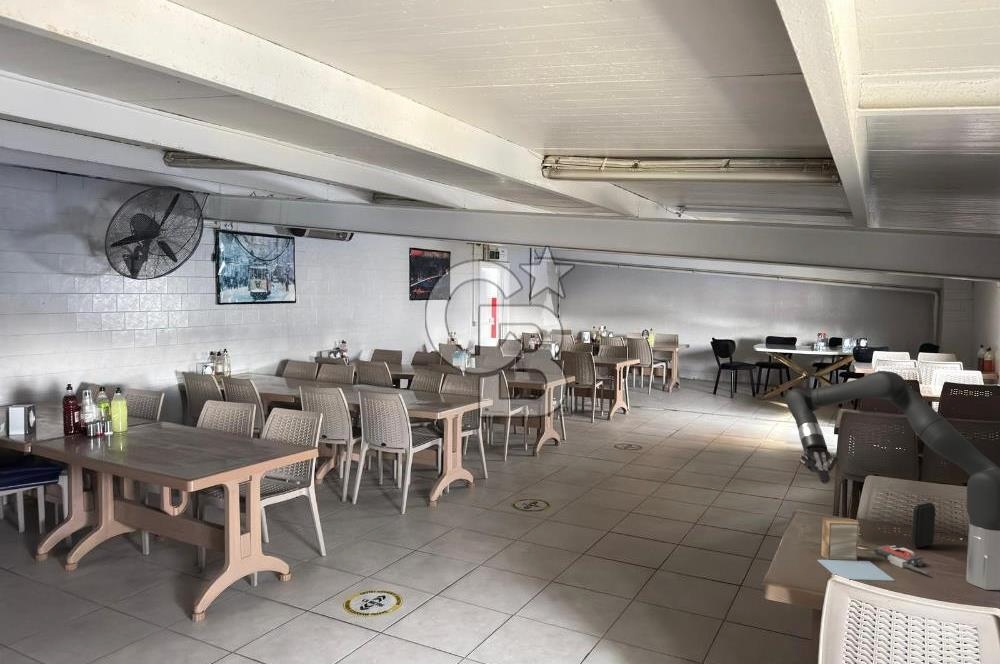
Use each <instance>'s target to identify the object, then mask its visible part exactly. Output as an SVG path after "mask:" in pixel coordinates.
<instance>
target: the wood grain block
mask: <svg viewBox="0 0 1000 664" xmlns="http://www.w3.org/2000/svg"><path fill="white" fill-rule="evenodd" d="M859 525H860V524H859V522H857V521H855V520H854V519H852V518H842V517H840V518H836V517H834V518H832V517H822V533H821V553H820V555H821V556H822V557H823V558H824V559H825V560H847V561H858V549H859V548H858V547H859Z"/></svg>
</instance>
